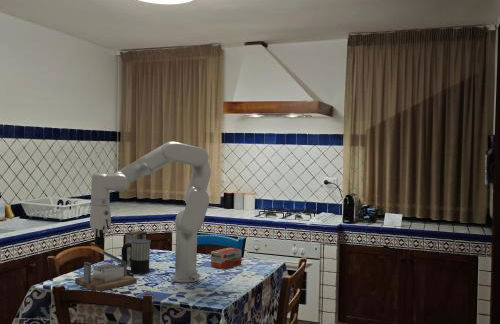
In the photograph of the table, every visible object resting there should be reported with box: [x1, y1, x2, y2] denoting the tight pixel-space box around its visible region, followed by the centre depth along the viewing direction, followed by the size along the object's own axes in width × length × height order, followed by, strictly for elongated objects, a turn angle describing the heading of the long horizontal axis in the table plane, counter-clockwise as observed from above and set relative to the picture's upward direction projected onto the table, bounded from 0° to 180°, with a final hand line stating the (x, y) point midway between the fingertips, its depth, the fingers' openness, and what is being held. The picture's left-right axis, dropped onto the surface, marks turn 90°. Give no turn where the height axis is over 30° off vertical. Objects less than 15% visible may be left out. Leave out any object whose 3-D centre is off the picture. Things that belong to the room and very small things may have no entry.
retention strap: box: [90, 245, 126, 264], centre depth 214 cm, size 17×6×1 cm, turn 138°
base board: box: [74, 274, 138, 292], centre depth 214 cm, size 18×19×2 cm
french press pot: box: [125, 230, 148, 266], centre depth 249 cm, size 9×6×16 cm
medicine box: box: [210, 247, 243, 270], centre depth 251 cm, size 15×8×8 cm, turn 142°
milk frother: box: [121, 239, 152, 277], centre depth 231 cm, size 14×16×15 cm
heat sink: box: [83, 261, 128, 283], centre depth 213 cm, size 10×18×8 cm, turn 137°
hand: (99, 245), depth 211 cm, fingers closed
